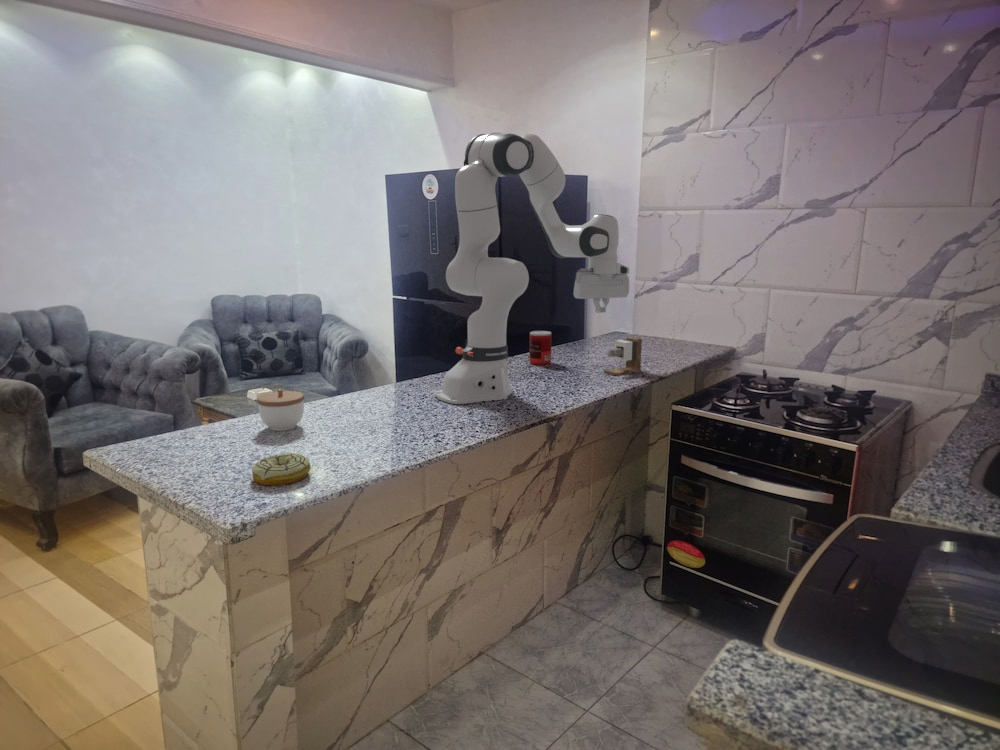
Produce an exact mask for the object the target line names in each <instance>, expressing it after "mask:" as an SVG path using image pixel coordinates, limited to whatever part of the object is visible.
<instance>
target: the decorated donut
mask: <svg viewBox="0 0 1000 750" xmlns="http://www.w3.org/2000/svg"><path fill="white" fill-rule="evenodd" d="M310 470H311V462H310V460H309V459H308V458H307V457H306V456H304V455H303V454H299V453H294V452H292V453H291V452H289V453H287V452H286V453H285V452H284V453H280V454H279V453H278V454H275V455H269V456H267V457H264V458H263V459H260V460H259V461H258V462H256V463H255V464H254V465H253V466H252V467H251V471H252V472H251V473H252V478H253V481H254V482H255V483H256V484H260V485H263V486H272V487H273V486H274V487H275V486H276V487H277V486H279V485H281V486H285V485H287V484H293V483H296V482H298V481H301V480H303V479H304V478H306V477H307V476H308V475H309V472H310Z"/></svg>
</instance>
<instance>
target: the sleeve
mask: <svg viewBox="0 0 1000 750" xmlns="http://www.w3.org/2000/svg"><path fill="white" fill-rule="evenodd" d="M623 347H624V355H621V356H614V357H613V359H615V360H620V361H624V362H626V361H629V360H632V342H630V341H625V340H624V339H618V340H614V347H613V349H618V348H623Z"/></svg>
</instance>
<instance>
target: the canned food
mask: <svg viewBox="0 0 1000 750" xmlns="http://www.w3.org/2000/svg"><path fill="white" fill-rule="evenodd" d="M552 339H553V338H552V331H549V330H548V331H547V330H533V331H530V332H529V363H530V365H533V366H548V365H551V363H552Z"/></svg>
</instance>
